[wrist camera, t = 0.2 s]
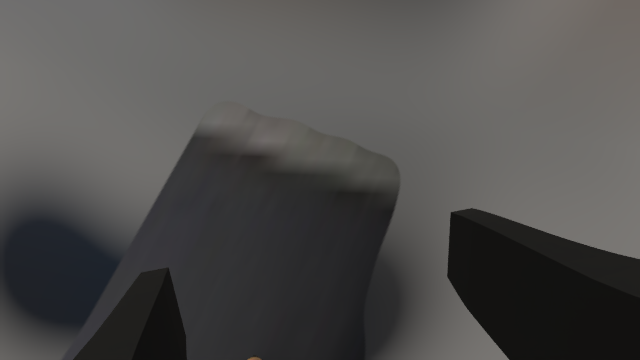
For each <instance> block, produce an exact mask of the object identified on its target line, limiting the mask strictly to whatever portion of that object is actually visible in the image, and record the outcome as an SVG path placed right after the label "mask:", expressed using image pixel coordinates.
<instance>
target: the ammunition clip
mask: <svg viewBox="0 0 640 360" xmlns="http://www.w3.org/2000/svg"><path fill="white" fill-rule="evenodd" d="M248 360H262V359H261V358H259V357H258V356H256V355H253V357H252V358H250V359H248Z"/></svg>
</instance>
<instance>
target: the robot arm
mask: <svg viewBox="0 0 640 360" xmlns="http://www.w3.org/2000/svg"><path fill="white" fill-rule="evenodd" d="M447 276H448V279H449V280H450V282H451V283H452V285H453V287H454V289H455V290H456V292H457V294H458V295H459V297H460V298H461V300H462V302H463V303H464V305H465V306H466V307H467V309H468V310H469V311H470V313H471V314H472V315H473V316H474V318H475V319H476V320H477V321H478V323H479V324H480V325H481V326H482V327H483V328H484V330H485V331H486V332H487V334H488V335H489V336H490V337H491V338H492V339H493V341H494V342H495V343H496V344H497V345H498V347H499V348H500V349H501V350H502V351H503V353H504V354H505V355H506V356H507V357H508V359H509V360H640V259H636V258H632V257H627V256H623V255H618V254H615V253H611V252H608V251H604V250H600V249H597V248H594V247H590V246H587V245H584V244H580V243H577V242H574V241H570V240H567V239H564V238H561V237H558V236H555V235H552V234H549V233H546V232H543V231H541V230H538V229H535V228H532V227H529V226H526V225H523V224H520V223H517V222H514V221H512V220H509V219H506V218H503V217H500V216H497V215H494V214H491V213H487V212H484V211H481V210H477V209H472V208H471V209H466V210H460V211H455V212H451V218H450V236H449V255H448V274H447ZM73 360H187V357H186V335H185V331H184V327H183V323H182V319H181V315H180V311H179V307H178V303H177V299H176V295H175V291H174V287H173V283H172V279H171V276H170V272H169V268H163V269H158V270H153V271H148V272H143V273H141V274H140V275H139V276H138V278H137V279H136V280H135V281H134V283H133V284H132V285H131V287H130V288H129V289H128V291H127V292H126V294H125V295H124V296H123V298H122V299H121V300H120V302H119V303H118V304H117V306H116V307H115V308H114V310H113V311H112V313H111V314H110V315H109V316H108V318H107V319H106V320H105V322H104V323H103V324H102V325H101V327H100V328H99V329H98V331H97V332H96V333H95V334H94V336H93V337H92V338H91V339H90V341H89V342H88V343H87V344H86V345H85V346H84V347H83V349H82V350H81V351H80V352H79V353H78V354H77V356H76V357H75V358H74V359H73Z"/></svg>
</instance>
